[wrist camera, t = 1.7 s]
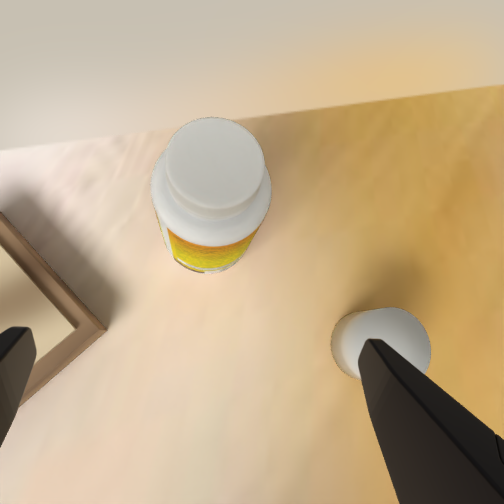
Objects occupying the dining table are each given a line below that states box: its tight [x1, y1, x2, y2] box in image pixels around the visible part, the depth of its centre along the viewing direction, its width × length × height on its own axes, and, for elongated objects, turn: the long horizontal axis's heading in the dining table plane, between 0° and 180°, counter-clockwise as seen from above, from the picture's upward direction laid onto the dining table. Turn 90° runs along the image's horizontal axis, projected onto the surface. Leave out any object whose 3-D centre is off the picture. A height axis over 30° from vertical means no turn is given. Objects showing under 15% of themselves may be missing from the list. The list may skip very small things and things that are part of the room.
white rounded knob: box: [331, 307, 431, 380], centre depth 22 cm, size 4×4×4 cm
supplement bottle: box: [151, 117, 272, 274], centre depth 19 cm, size 6×6×10 cm
